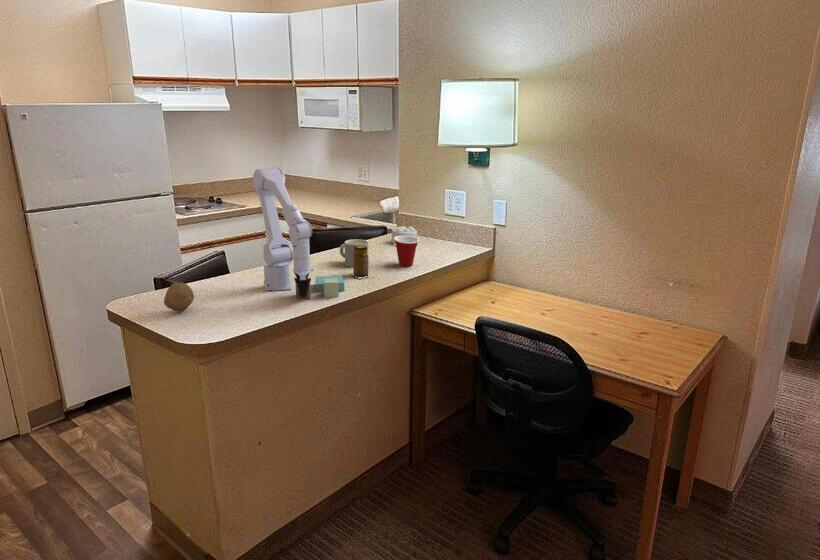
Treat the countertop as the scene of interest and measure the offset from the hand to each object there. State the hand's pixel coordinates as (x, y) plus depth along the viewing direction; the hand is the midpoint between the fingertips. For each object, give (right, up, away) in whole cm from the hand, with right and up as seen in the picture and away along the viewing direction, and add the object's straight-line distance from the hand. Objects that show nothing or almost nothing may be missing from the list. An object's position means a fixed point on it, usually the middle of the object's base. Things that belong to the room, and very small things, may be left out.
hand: (303, 293), depth 206 cm
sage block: (+10, -1, +3) cm, 10 cm away
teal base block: (+8, +2, +12) cm, 14 cm away
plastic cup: (+37, +11, +42) cm, 57 cm away
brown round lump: (-37, -6, -15) cm, 41 cm away
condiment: (+19, +6, +27) cm, 33 cm away
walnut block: (0, -1, 0) cm, 2 cm away
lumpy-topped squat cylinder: (+36, +22, +78) cm, 88 cm away
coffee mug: (+14, +12, +43) cm, 47 cm away
